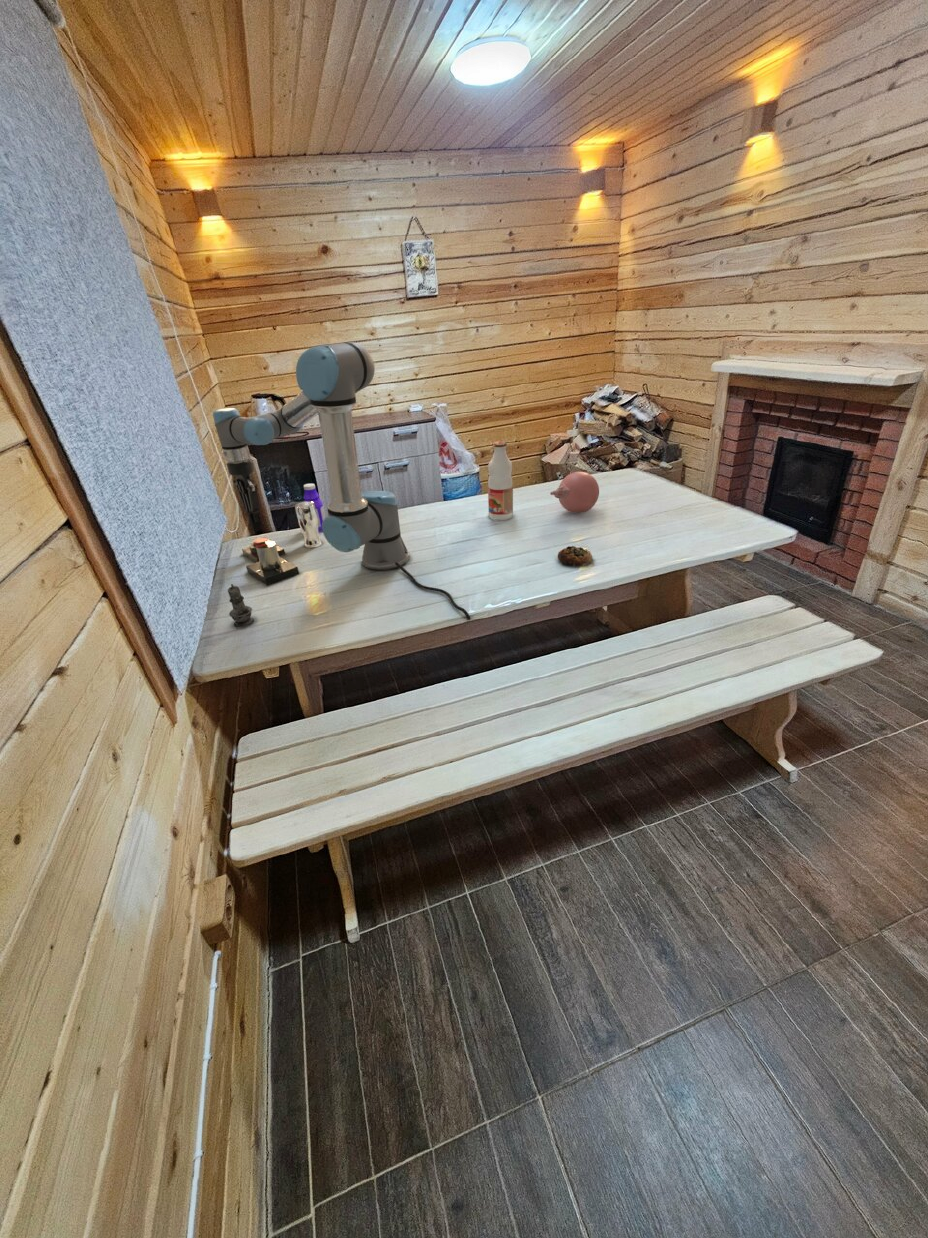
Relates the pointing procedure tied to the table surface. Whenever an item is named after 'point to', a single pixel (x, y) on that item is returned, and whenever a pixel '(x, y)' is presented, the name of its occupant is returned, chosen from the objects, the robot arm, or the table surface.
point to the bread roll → (574, 556)
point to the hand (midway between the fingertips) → (257, 530)
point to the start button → (259, 540)
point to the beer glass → (308, 523)
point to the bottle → (315, 502)
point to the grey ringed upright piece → (239, 608)
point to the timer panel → (272, 572)
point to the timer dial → (268, 555)
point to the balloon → (577, 492)
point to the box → (253, 554)
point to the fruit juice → (500, 484)
